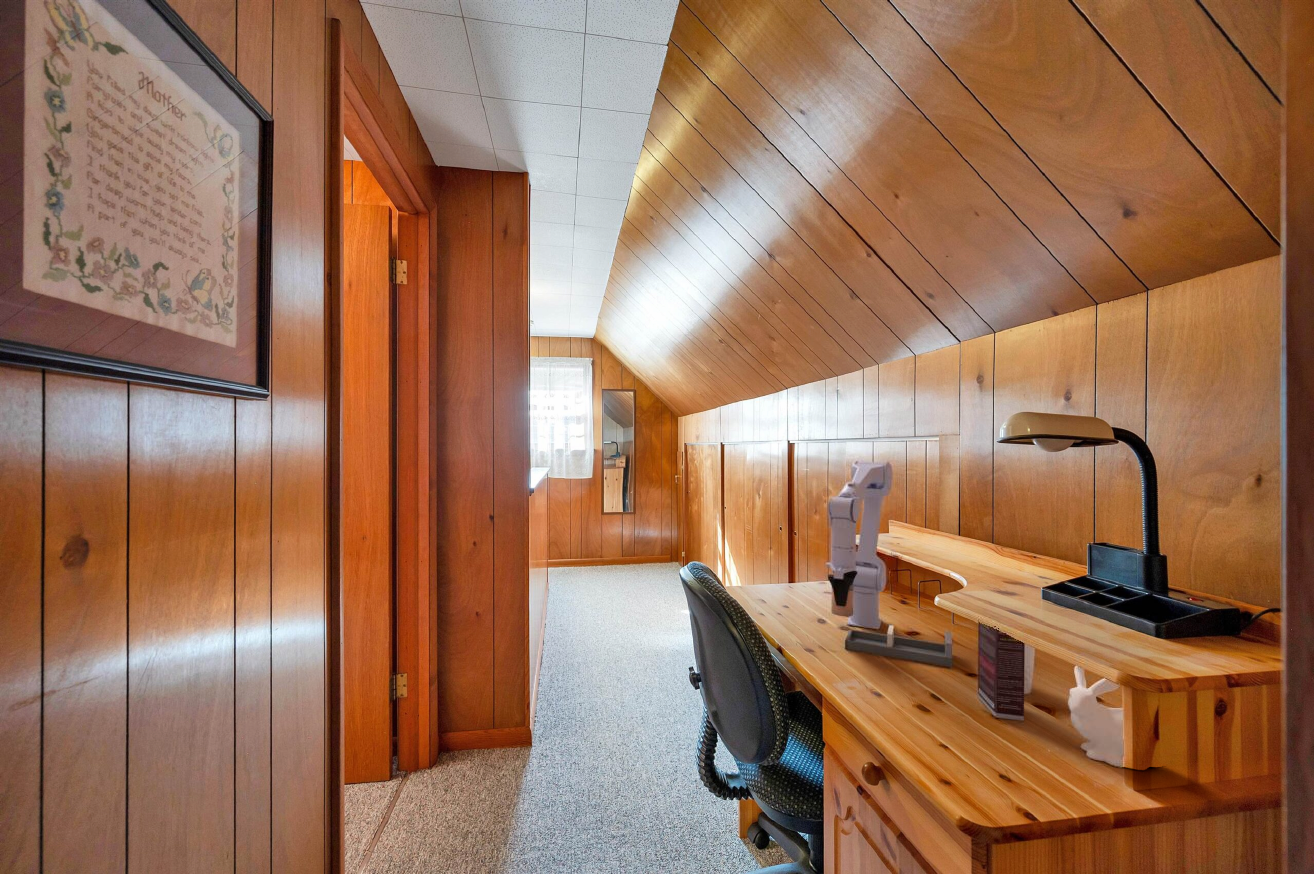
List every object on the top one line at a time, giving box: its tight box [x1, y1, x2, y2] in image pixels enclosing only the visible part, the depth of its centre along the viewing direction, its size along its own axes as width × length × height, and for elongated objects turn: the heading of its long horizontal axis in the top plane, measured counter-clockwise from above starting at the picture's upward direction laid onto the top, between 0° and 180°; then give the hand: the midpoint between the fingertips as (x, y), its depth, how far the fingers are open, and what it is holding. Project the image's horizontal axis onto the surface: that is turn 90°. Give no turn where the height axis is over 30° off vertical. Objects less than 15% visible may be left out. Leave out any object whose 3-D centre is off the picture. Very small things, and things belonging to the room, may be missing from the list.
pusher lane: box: [844, 628, 953, 668], centre depth 126 cm, size 9×22×5 cm, turn 63°
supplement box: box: [977, 621, 1025, 722], centre depth 98 cm, size 9×5×16 cm, turn 168°
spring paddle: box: [886, 624, 895, 647], centre depth 126 cm, size 7×1×4 cm, turn 153°
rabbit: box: [1067, 665, 1124, 767], centre depth 83 cm, size 12×9×12 cm
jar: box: [830, 584, 853, 617], centre depth 132 cm, size 5×5×7 cm
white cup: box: [1024, 644, 1036, 695], centre depth 107 cm, size 8×8×10 cm
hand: (842, 602), depth 131 cm, fingers closed on jar, 5 cm apart
